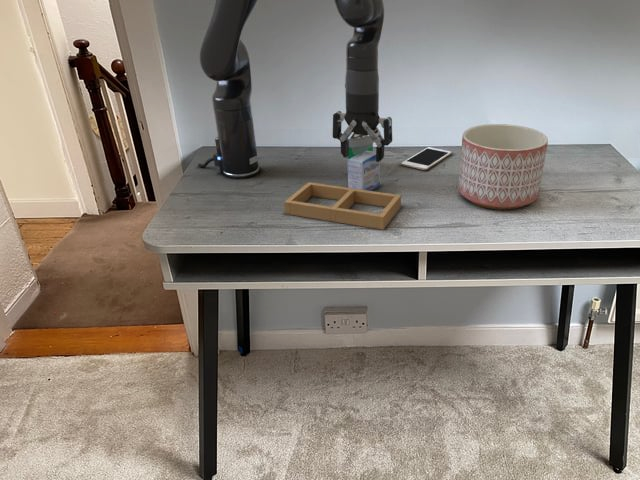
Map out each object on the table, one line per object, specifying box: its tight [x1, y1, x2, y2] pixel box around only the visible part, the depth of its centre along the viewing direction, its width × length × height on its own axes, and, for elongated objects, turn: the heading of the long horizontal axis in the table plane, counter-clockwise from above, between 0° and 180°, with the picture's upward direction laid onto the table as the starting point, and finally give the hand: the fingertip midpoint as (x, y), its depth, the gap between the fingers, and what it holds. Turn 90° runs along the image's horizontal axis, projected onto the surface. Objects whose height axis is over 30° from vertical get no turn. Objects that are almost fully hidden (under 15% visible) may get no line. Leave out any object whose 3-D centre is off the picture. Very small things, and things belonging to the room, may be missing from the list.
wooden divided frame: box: [284, 181, 402, 230], centre depth 126 cm, size 24×12×3 cm, turn 71°
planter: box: [458, 123, 549, 210], centre depth 130 cm, size 19×19×15 cm
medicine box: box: [346, 151, 381, 191], centre depth 135 cm, size 8×4×9 cm, turn 148°
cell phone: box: [401, 146, 452, 171], centre depth 155 cm, size 8×16×1 cm, turn 148°
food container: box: [347, 132, 375, 160], centre depth 146 cm, size 12×6×10 cm, turn 168°
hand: (362, 158), depth 133 cm, fingers open, 8 cm apart
